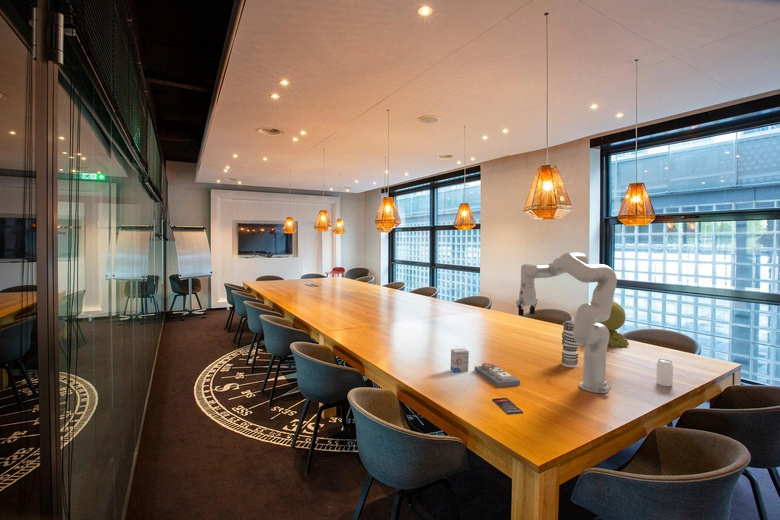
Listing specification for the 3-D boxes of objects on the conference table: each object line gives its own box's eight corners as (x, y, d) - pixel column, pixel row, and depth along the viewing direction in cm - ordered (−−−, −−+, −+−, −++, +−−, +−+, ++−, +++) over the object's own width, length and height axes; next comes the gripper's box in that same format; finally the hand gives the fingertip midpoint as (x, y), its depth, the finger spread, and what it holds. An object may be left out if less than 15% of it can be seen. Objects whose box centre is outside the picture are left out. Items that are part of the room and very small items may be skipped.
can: (656, 381, 192) (657, 357, 191) (672, 384, 188) (673, 360, 187) (655, 384, 187) (656, 361, 186) (671, 388, 183) (672, 363, 182)
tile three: (495, 370, 201) (495, 365, 201) (486, 371, 199) (486, 366, 199) (490, 367, 206) (490, 362, 206) (481, 367, 204) (481, 363, 204)
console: (520, 385, 186) (520, 380, 186) (498, 387, 182) (498, 382, 182) (493, 369, 209) (494, 364, 209) (474, 370, 205) (474, 366, 205)
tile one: (511, 380, 186) (511, 374, 186) (502, 381, 185) (502, 375, 185) (505, 376, 191) (506, 371, 191) (496, 377, 190) (496, 372, 190)
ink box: (454, 373, 202) (454, 351, 201) (450, 370, 206) (450, 348, 206) (468, 371, 204) (469, 350, 203) (464, 368, 209) (464, 347, 208)
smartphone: (506, 397, 170) (524, 412, 155) (506, 399, 170) (524, 414, 155) (491, 398, 169) (507, 413, 154) (491, 400, 169) (507, 415, 154)
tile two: (503, 375, 194) (503, 369, 194) (494, 376, 192) (494, 370, 192) (497, 371, 199) (497, 366, 198) (489, 372, 197) (489, 367, 197)
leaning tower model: (580, 368, 211) (582, 324, 210) (563, 366, 213) (564, 323, 211) (576, 362, 220) (577, 320, 219) (559, 361, 222) (560, 319, 220)
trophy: (582, 338, 275) (583, 297, 274) (613, 339, 274) (614, 298, 273) (598, 347, 253) (599, 303, 251) (631, 347, 252) (633, 303, 250)
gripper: (522, 287, 211) (521, 317, 212) (542, 285, 220) (541, 314, 221) (512, 285, 217) (511, 315, 218) (531, 284, 226) (531, 312, 227)
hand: (526, 314), depth 219 cm, fingers open, 9 cm apart
